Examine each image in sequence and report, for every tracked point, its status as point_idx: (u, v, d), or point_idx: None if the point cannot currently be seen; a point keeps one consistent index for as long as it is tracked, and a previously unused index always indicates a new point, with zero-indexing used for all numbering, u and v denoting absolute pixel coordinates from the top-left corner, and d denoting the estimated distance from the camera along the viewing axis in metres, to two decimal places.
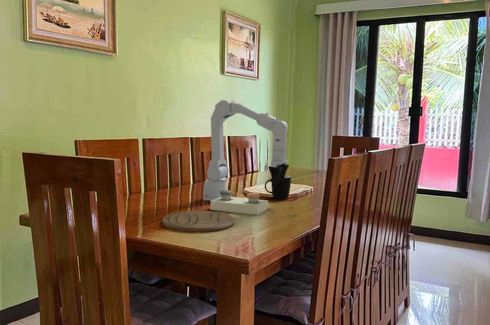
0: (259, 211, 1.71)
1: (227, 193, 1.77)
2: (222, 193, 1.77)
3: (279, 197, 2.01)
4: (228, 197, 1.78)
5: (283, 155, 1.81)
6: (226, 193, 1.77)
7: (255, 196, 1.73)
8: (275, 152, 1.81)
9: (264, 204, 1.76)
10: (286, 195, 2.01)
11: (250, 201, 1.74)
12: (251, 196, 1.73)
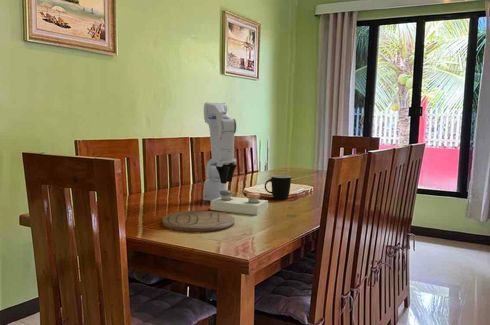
0: (259, 211, 1.71)
1: (227, 193, 1.77)
2: (222, 193, 1.77)
3: (279, 197, 2.01)
4: (228, 197, 1.78)
5: (230, 154, 1.76)
6: (226, 193, 1.77)
7: (255, 196, 1.73)
8: (222, 151, 1.76)
9: (264, 204, 1.76)
10: (286, 195, 2.01)
11: (250, 201, 1.74)
12: (251, 196, 1.73)
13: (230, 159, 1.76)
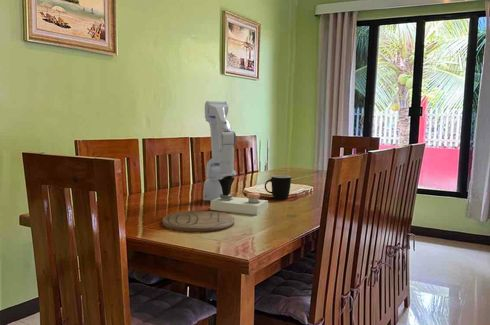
0: (259, 211, 1.71)
1: (227, 197, 1.77)
2: (222, 197, 1.78)
3: (279, 197, 2.01)
4: (228, 200, 1.78)
5: (230, 167, 1.76)
6: (226, 197, 1.77)
7: (255, 196, 1.73)
8: (222, 164, 1.76)
9: (264, 204, 1.76)
10: (286, 195, 2.01)
11: (250, 201, 1.74)
12: (251, 196, 1.73)
13: (230, 172, 1.76)
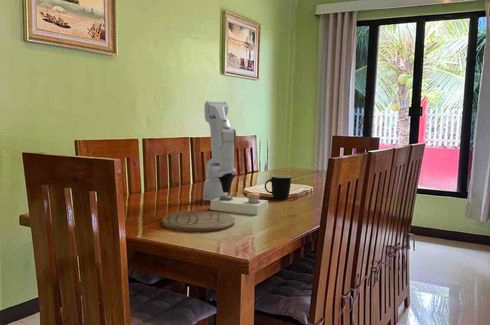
0: (259, 211, 1.71)
1: (227, 198, 1.77)
2: (222, 198, 1.78)
3: (279, 197, 2.01)
4: None
5: (230, 164, 1.76)
6: (226, 198, 1.77)
7: (255, 196, 1.73)
8: (222, 161, 1.76)
9: (264, 204, 1.76)
10: (286, 195, 2.01)
11: (250, 201, 1.74)
12: (251, 196, 1.73)
13: (230, 169, 1.76)
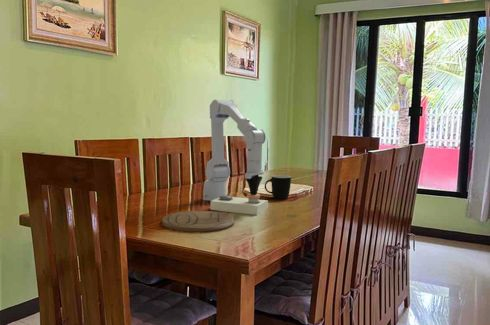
0: (259, 211, 1.71)
1: (227, 198, 1.77)
2: (222, 198, 1.78)
3: (279, 197, 2.01)
4: None
5: (258, 166, 1.72)
6: (226, 198, 1.77)
7: (255, 197, 1.73)
8: (250, 163, 1.72)
9: (264, 204, 1.76)
10: (286, 195, 2.01)
11: (250, 201, 1.74)
12: (251, 197, 1.73)
13: (258, 171, 1.72)
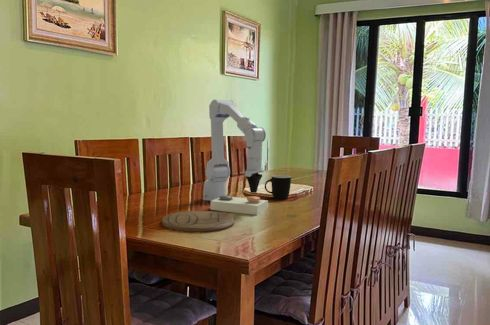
0: (259, 211, 1.71)
1: (227, 198, 1.77)
2: (222, 198, 1.78)
3: (279, 197, 2.01)
4: None
5: (258, 164, 1.72)
6: (226, 198, 1.77)
7: (255, 200, 1.73)
8: (250, 160, 1.71)
9: (264, 204, 1.76)
10: (286, 195, 2.01)
11: None
12: (251, 200, 1.73)
13: (258, 169, 1.72)
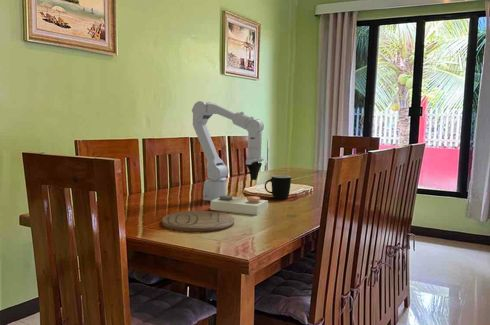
0: (259, 211, 1.71)
1: (227, 198, 1.77)
2: (222, 198, 1.78)
3: (279, 197, 2.01)
4: None
5: (258, 153, 1.85)
6: (226, 198, 1.77)
7: (255, 200, 1.73)
8: (250, 150, 1.85)
9: (264, 204, 1.76)
10: (286, 195, 2.01)
11: None
12: (251, 200, 1.73)
13: (258, 157, 1.85)
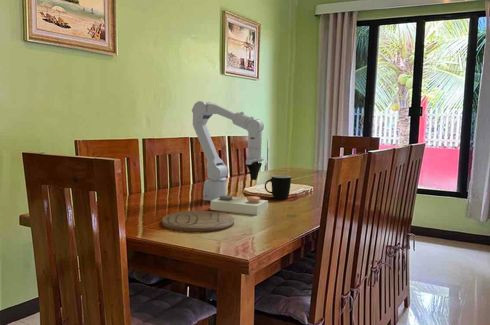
0: (259, 211, 1.71)
1: (227, 198, 1.77)
2: (222, 198, 1.78)
3: (279, 197, 2.01)
4: None
5: (258, 153, 1.85)
6: (226, 198, 1.77)
7: (255, 200, 1.73)
8: (250, 150, 1.85)
9: (264, 204, 1.76)
10: (286, 195, 2.01)
11: None
12: (251, 200, 1.73)
13: (258, 157, 1.85)
